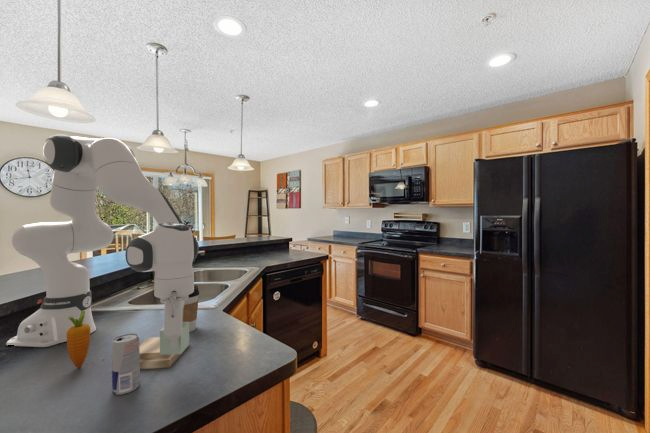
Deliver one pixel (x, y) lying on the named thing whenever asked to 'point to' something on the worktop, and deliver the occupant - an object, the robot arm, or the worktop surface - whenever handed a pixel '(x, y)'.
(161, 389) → the worktop surface
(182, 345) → the block
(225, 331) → the worktop surface
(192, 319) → the coffee cup
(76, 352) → the carrot
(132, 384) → the energy drink
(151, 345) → the stand
